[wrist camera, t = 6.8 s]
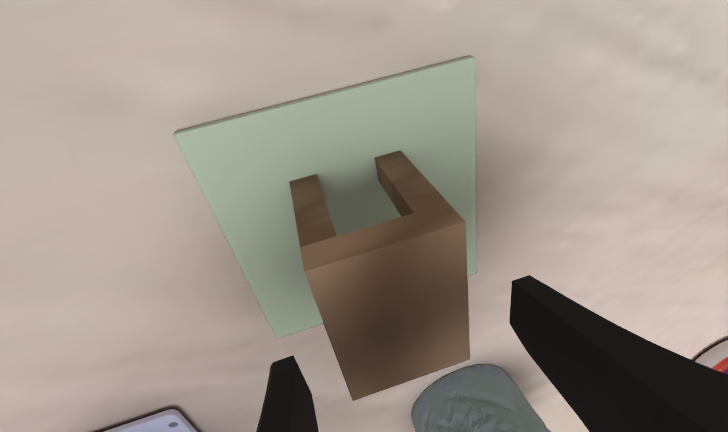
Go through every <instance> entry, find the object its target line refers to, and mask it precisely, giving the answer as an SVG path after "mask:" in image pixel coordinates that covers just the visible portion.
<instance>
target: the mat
mask: <svg viewBox="0 0 728 432" xmlns="http://www.w3.org/2000/svg"><path fill="white" fill-rule="evenodd" d="M173 135H174V137H175V139H176V141H177V143H178V145H179V147H180V149H181V151H182V153H183V155H184V157H185V159H186V161H187V163H188V165H189V167H190V169H191V171H192V173H193V175H194V177H195V179H196V181H197V183H198V185H199V187H200V189H201V191H202V193H203V195H204V197H205V199H206V200H207V202H208V204H209V206H210V208H211V210H212V212H213V214H214V216H215V218H216V220H217V222H218V224H219V226H220V228H221V230H222V232H223V234H224V236H225V238H226V240H227V242H228V244H229V246H230V248H231V250H232V252H233V254H234V256H235V258H236V260H237V262H238V264H239V265H240V267H241V269H242V271H243V273H244V275H245V277H246V279H247V281H248V283H249V285H250V287H251V289H252V291H253V293H254V295H255V297H256V299H257V301H258V303H259V305H260V307H261V309H262V311H263V313H264V315H265V317H266V319H267V321H268V323H269V325H270V327H271V329H272V330H273V332H274V334H275V336H276V338H277V339H278V338H281V337H284V336H287V335H290V334H293V333H296V332H299V331H302V330H305V329H308V328H311V327H314V326H317V325H320V324H323V320H322V318H321V315H320V313H319V310H318V307H317V305H316V302H315V299H314V297H313V294H312V291H311V289H310V286H309V283H308V281H307V278H306V275H305V273H304V268H303V262H302V256H301V250H300V244H299V238H298V232H297V226H296V220H295V214H294V208H293V202H292V196H291V190H290V184H289V181H293V180H296V179H300V178H303V177H307V176H310V175H314V174H317V177H318V180H319V183H320V186H321V189H322V192H323V195H324V198H325V201H326V204H327V207H328V210H329V214H330V217H331V220H332V223H333V226H334V229H335V232H336V235H337V236H339V235H343V234H346V233H349V232H352V231H356V230H359V229H362V228H366V227H369V226H372V225H376V224H379V223H382V222H386V221H389V220H392V219H395V218H399V217H401V215H400V214H399V212H398V211H397V209H396V207H395V206H394V204H393V203H392V201H391V200H390V198H389V197H388V195H387V193H386V192H385V190H384V189H383V187H382V186H381V184H380V183H379V180H378V175H377V169H376V164H375V159H374V157H378V156H381V155H385V154H389V153H392V152H396V151H399V150H401V152H402V153H403V154H404V155H405V156H406V157H407V158H408V159H409V160H410V161H411V162H412V164H413V165H414V166H415V167H416V168H417V169H418V170H419V171H420V172H421V173H422V174H423V176H424V177H425V178H426V179H427V180H428V181H429V182H430V183H431V184H432V185H433V186H434V188H435V189H436V190H437V191H438V192H439V193H440V194H441V195H442V196H443V197H444V198H445V200H446V201H447V202H448V203H449V204H450V205H451V206H452V207H453V208H454V209H455V210H456V212H457V213H458V214H459V215H460V216H461V217H462V218H463V219H464V220H465V221H466V248H467V276H470V275H473V274H476V273H477V259H476V151H475V57H473V56H467V57H463V58H459V59H455V60H451V61H447V62H443V63H439V64H435V65H432V66H428V67H424V68H420V69H416V70H412V71H408V72H404V73H400V74H397V75H393V76H389V77H385V78H381V79H377V80H373V81H369V82H366V83H362V84H358V85H354V86H350V87H346V88H342V89H338V90H334V91H331V92H327V93H323V94H319V95H315V96H311V97H307V98H303V99H299V100H296V101H292V102H288V103H284V104H280V105H276V106H272V107H268V108H264V109H261V110H257V111H253V112H249V113H245V114H241V115H237V116H233V117H230V118H226V119H222V120H218V121H214V122H210V123H206V124H202V125H198V126H195V127H191V128H187V129H183V130H179V131H175V133H174V134H173Z"/></svg>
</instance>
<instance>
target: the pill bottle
mask: <svg viewBox="0 0 728 432" xmlns="http://www.w3.org/2000/svg"><path fill="white" fill-rule="evenodd" d="M695 362H697V363H700V364H702V365H705V366H707V367H709V368H712V369H714V370H717V371H720V372H722V373H725V374H728V340H726V341H723V342H721V343H719V344H718V345H716V346H714V347H712V348H711V349H709V350H708V351H706V352H705V353H704V354H702V355H701V356H700V357H698V358H697V359H696V360H695Z"/></svg>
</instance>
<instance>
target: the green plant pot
mask: <svg viewBox="0 0 728 432" xmlns="http://www.w3.org/2000/svg"><path fill="white" fill-rule="evenodd" d="M412 417H413V424H414V427H415V431H416V432H551V431H550V430H549V429H547V428H546V426H545V424H544V422H543V421H542V419H541V418H540V417H539V416H538V414H537V413H536V412H535V411H534V409H533V408H532V407H531V405H530V404H529V402H528V401H527V399H526V398H525V396H524V395H523V393H522V392H521V391H520V389H519V388H518V387H517V385H516V384H515V383H514V381H513V380H512V379H511V378H510V376H509V375H508V374H507V373H506V372H505V371H504V370H502V369H501V368H499V367H497V366H495V365H485V364H484V365H479V364H478V365H474V366H472V367H469V366H468V367H466V368H462V369H460V370H457V371H455V372H453V373H450V374H448V375H446V376H445V377H443V378H441V379H439V380H438V381H436V382H434V383H433V384H432V385H430V386H429V387H428V388H427V389H426V390H425V391H424V392H423V393H422V394H421V395H420V396H419V398H418V399H417V401H416V402H415V404H414V407H413V411H412Z"/></svg>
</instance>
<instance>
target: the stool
mask: <svg viewBox="0 0 728 432" xmlns="http://www.w3.org/2000/svg"><path fill="white" fill-rule="evenodd" d="M374 159H375V164H376V169H377V175H378V180H379V183H380V184H381V186H382V187H383V189H384V190H385V192H386V193H387V195H388V197H389V198H390V200H391V201H392V203H393V204H394V206H395V207H396V209H397V211H398V212H399V214H400V215H401V217H399V218H395V219H392V220H389V221H386V222H382V223H379V224H376V225H372V226H369V227H366V228H362V229H359V230H356V231H352V232H349V233H346V234H343V235H339V236H337V235H336V232H335V229H334V226H333V223H332V220H331V217H330V214H329V210H328V207H327V204H326V201H325V198H324V195H323V192H322V189H321V186H320V183H319V180H318V177H317V174H314V175H310V176H307V177H303V178H300V179H296V180H293V181H289V184H290V190H291V196H292V202H293V208H294V214H295V220H296V226H297V232H298V238H299V244H300V250H301V256H302V262H303V268H304V273H305V275H306V278H307V281H308V283H309V286H310V289H311V291H312V294H313V297H314V299H315V302H316V305H317V307H318V310H319V313H320V315H321V318H322V320H323V323H324V326H325V328H326V331H327V334H328V336H329V339H330V342H331V344H332V347H333V350H334V352H335V355H336V358H337V360H338V363H339V366H340V368H341V371H342V374H343V376H344V379H345V381H346V384H347V387H348V389H349V392H350V395H351V397H352V400H353V401H354V400H357V399H359V398H362V397H365V396H368V395H371V394H373V393H376V392H379V391H382V390H385V389H388V388H390V387H393V386H396V385H399V384H402V383H404V382H407V381H410V380H413V379H416V378H418V377H421V376H424V375H427V374H430V373H433V372H435V371H438V370H441V369H444V368H447V367H449V366H452V365H455V364H458V363H461V362H464V361H466V360H469V359H470V349H469V316H468V282H467V248H466V221H465V220H464V219H463V218H462V217H461V216H460V215H459V214H458V213H457V212H456V210H455V209H454V208H453V207H452V206H451V205H450V204H449V203H448V202H447V201H446V200H445V198H444V197H443V196H442V195H441V194H440V193H439V192H438V191H437V190H436V189H435V188H434V186H433V185H432V184H431V183H430V182H429V181H428V180H427V179H426V178H425V177H424V176H423V174H422V173H421V172H420V171H419V170H418V169H417V168H416V167H415V166H414V165H413V164H412V162H411V161H410V160H409V159H408V158H407V157H406V156H405V155H404V154H403V153H402V152H401V150H399V151H396V152H392V153H389V154H385V155H381V156H378V157H374Z"/></svg>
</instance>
